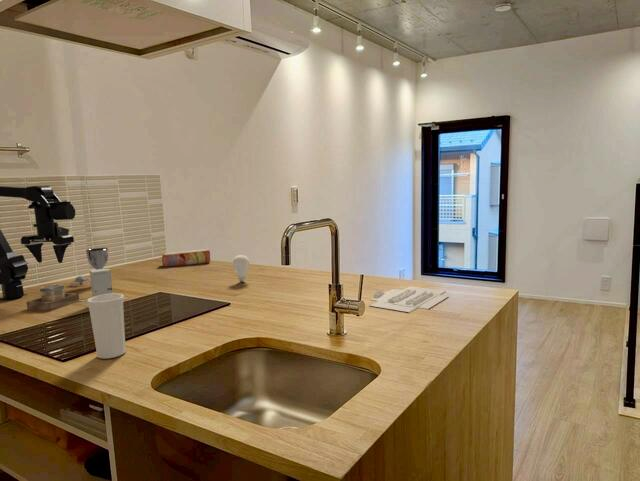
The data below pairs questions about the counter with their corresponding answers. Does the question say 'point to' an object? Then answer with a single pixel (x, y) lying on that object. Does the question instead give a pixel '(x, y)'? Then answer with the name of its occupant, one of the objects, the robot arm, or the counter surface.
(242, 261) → the light bulb
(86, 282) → the dish
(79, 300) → the card
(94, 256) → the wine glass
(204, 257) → the snack package
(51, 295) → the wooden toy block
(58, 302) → the open box
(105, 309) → the cup
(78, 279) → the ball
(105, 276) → the skincare box
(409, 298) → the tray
